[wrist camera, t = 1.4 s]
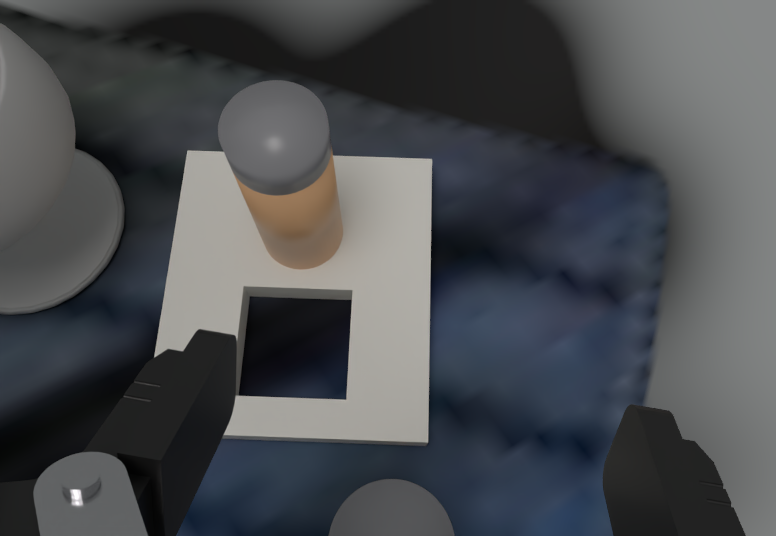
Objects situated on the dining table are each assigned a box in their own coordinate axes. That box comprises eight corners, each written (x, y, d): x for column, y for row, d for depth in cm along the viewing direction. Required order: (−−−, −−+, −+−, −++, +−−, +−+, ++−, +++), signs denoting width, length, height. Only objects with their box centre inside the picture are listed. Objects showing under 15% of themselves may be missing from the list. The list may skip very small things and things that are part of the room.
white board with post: (153, 436, 39) (37, 395, 26) (195, 165, 45) (119, 22, 32) (426, 446, 39) (448, 410, 26) (429, 173, 45) (449, 34, 32)
